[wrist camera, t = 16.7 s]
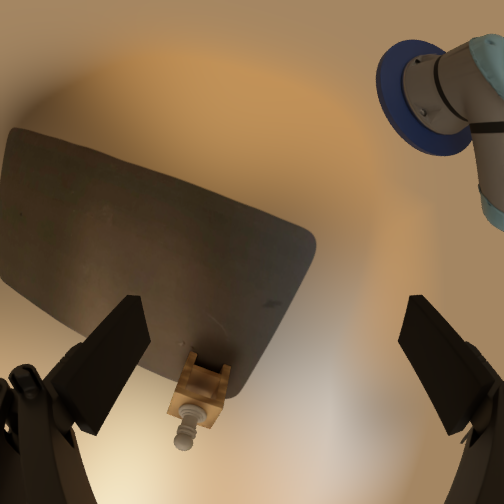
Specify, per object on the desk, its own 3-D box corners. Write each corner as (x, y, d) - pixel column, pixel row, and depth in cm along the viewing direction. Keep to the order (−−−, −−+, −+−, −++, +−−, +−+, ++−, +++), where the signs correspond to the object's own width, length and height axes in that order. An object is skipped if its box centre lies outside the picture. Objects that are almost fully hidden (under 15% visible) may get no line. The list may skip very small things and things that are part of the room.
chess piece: (176, 413, 44) (164, 449, 36) (182, 399, 43) (168, 437, 34) (203, 423, 45) (194, 459, 36) (210, 409, 43) (201, 448, 35)
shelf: (231, 366, 54) (222, 408, 43) (219, 388, 57) (210, 429, 45) (190, 350, 54) (174, 391, 42) (181, 374, 56) (166, 413, 45)
